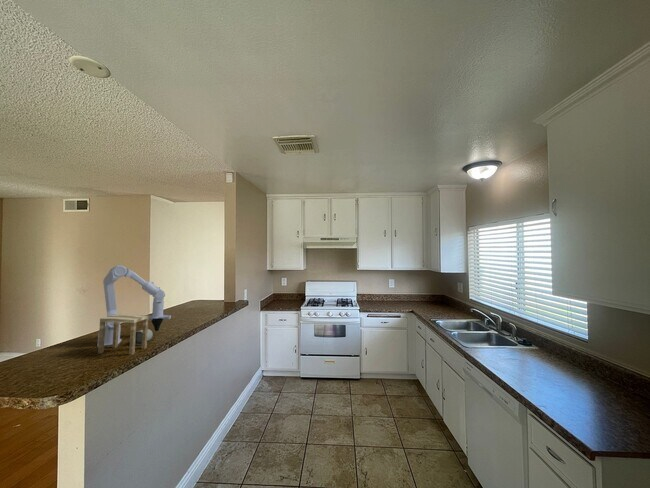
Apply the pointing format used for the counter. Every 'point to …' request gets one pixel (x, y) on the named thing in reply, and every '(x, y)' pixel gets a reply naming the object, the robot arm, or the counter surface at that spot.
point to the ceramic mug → (139, 336)
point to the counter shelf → (116, 320)
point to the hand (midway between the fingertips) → (156, 330)
